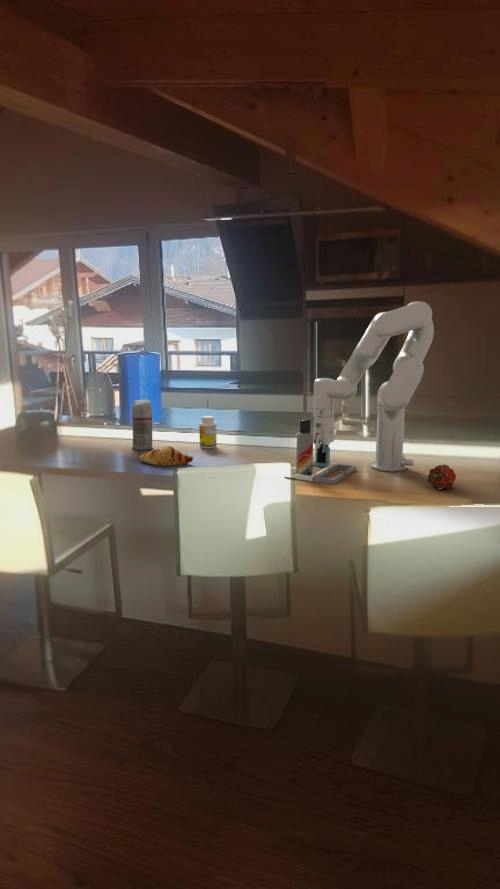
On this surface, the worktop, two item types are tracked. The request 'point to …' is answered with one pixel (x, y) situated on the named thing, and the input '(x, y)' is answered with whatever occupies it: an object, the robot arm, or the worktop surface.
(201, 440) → the supplement bottle
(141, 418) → the spray can
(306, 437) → the lotion bottle
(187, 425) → the worktop surface
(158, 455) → the croissant
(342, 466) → the grey open frame
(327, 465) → the lane sled
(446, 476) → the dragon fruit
